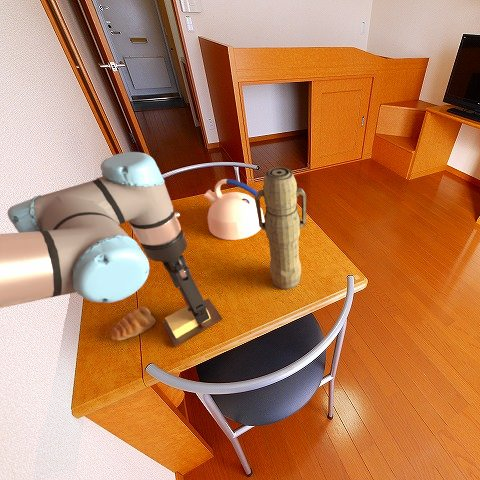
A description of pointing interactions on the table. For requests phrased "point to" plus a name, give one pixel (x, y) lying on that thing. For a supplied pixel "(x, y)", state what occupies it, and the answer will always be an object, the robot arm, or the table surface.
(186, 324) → the butter block
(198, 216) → the table surface
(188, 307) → the cutter
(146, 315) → the pastry
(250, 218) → the kettle
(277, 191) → the thermos
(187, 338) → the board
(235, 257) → the table surface
